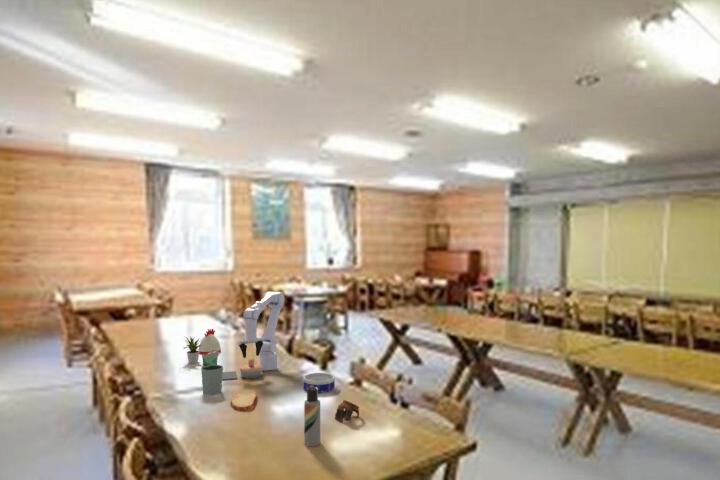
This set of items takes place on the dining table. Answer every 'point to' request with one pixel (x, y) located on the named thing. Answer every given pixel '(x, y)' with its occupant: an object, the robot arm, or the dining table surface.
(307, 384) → the dog bowl
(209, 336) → the cream domed piece
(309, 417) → the lotion bottle
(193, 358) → the house plant
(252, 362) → the lid
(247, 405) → the bread slice
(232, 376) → the mat
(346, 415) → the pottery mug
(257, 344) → the robot arm
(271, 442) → the dining table surface
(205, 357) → the food container
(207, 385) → the embossed green pot
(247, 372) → the bowl
